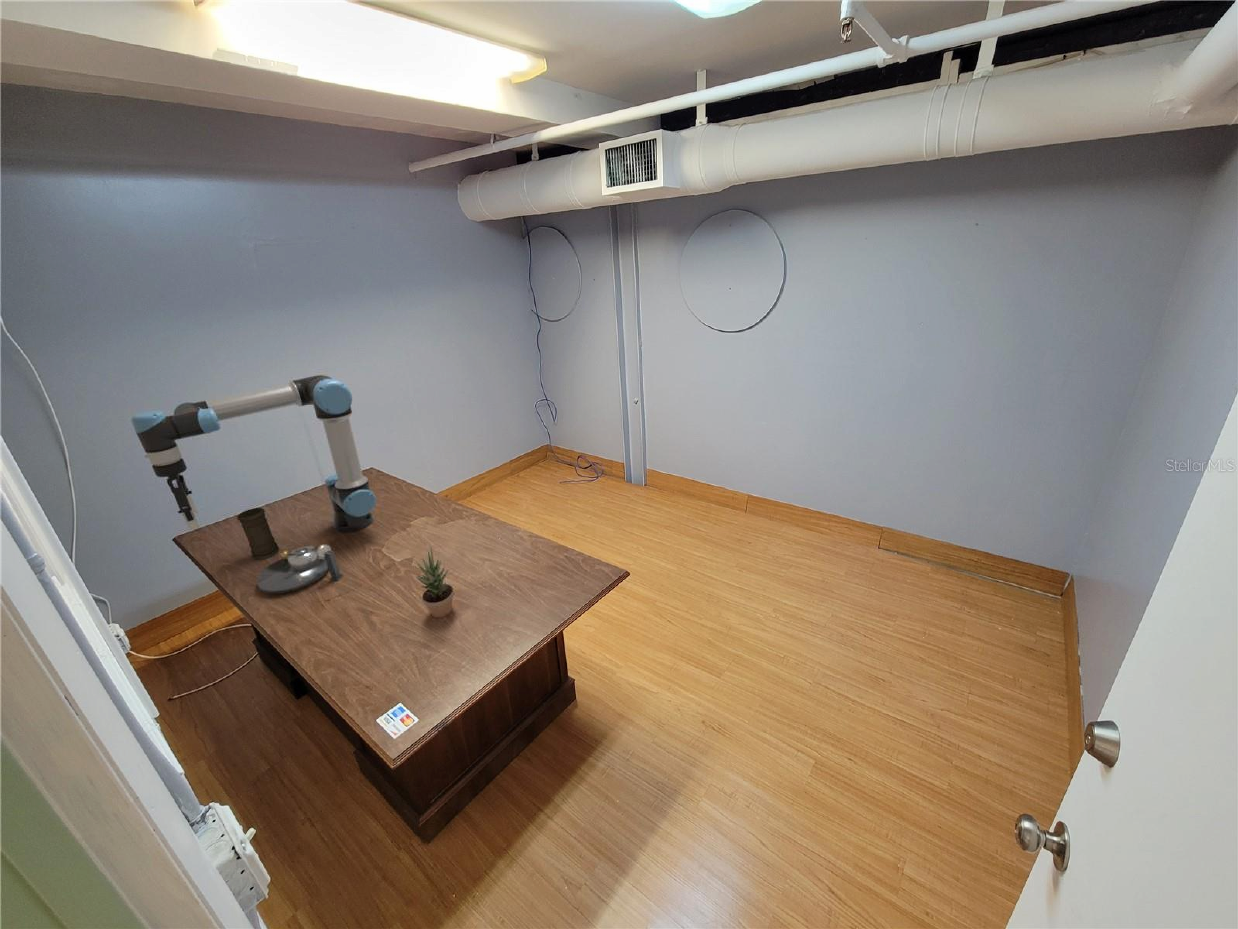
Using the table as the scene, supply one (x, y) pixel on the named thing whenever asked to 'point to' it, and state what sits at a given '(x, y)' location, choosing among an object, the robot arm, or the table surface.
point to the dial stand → (329, 561)
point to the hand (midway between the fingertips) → (193, 520)
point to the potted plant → (436, 588)
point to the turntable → (288, 576)
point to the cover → (303, 558)
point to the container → (258, 533)
